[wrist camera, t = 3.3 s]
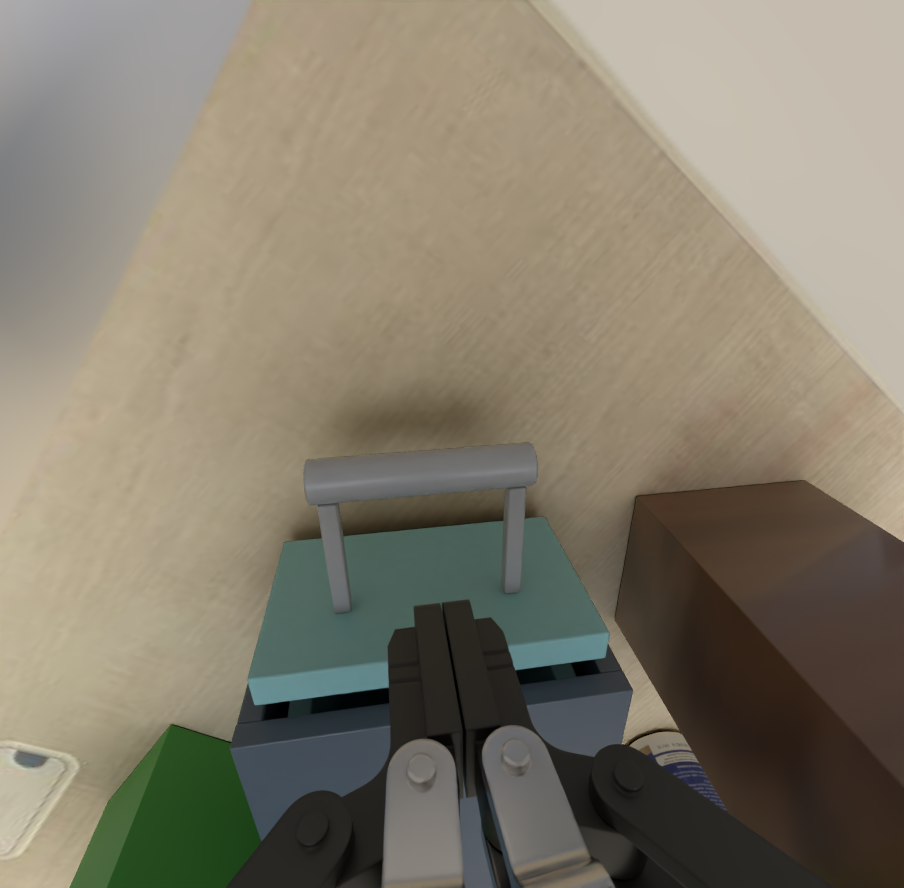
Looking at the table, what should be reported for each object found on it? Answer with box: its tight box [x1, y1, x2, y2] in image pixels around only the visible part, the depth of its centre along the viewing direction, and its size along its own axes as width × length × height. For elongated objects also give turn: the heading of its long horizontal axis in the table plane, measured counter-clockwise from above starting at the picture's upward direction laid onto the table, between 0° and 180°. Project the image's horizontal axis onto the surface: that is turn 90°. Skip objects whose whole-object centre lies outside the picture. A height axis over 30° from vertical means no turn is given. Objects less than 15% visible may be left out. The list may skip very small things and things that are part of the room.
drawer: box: [247, 442, 609, 717], centre depth 20 cm, size 19×11×7 cm, turn 1°
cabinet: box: [230, 645, 633, 888], centre depth 22 cm, size 15×13×9 cm
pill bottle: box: [630, 732, 728, 813], centre depth 29 cm, size 5×5×10 cm
